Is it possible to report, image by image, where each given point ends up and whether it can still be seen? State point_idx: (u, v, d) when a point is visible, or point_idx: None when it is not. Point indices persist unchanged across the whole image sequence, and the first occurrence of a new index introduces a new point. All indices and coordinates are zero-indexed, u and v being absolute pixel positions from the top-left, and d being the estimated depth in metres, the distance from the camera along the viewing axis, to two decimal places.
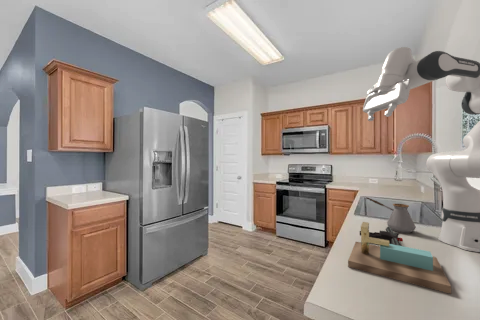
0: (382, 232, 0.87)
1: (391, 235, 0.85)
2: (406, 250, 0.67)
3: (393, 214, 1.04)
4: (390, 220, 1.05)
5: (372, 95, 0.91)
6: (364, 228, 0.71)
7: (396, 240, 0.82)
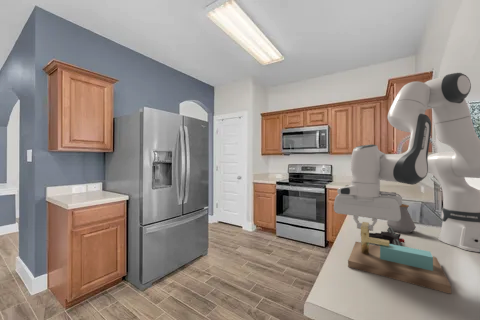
0: (383, 233, 0.86)
1: (393, 236, 0.84)
2: (406, 250, 0.67)
3: None
4: None
5: (348, 198, 0.75)
6: (364, 228, 0.71)
7: (398, 241, 0.81)
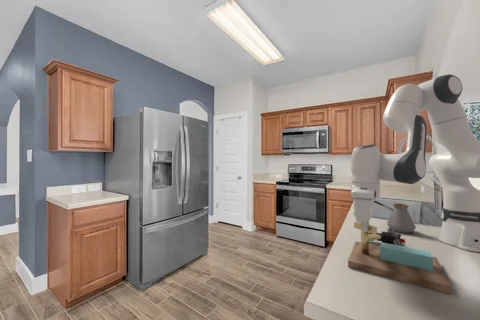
0: (384, 233, 0.86)
1: (393, 236, 0.84)
2: (406, 250, 0.67)
3: (393, 214, 1.04)
4: (390, 220, 1.05)
5: (372, 201, 0.69)
6: (375, 228, 0.71)
7: (398, 241, 0.81)
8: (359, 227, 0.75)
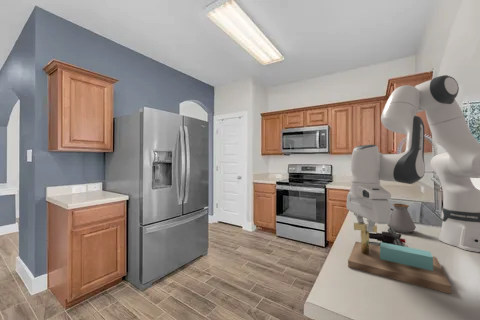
0: (384, 233, 0.86)
1: (393, 236, 0.84)
2: (406, 250, 0.67)
3: (393, 214, 1.04)
4: (390, 220, 1.05)
5: None
6: (376, 227, 0.72)
7: (399, 241, 0.81)
8: (360, 228, 0.74)
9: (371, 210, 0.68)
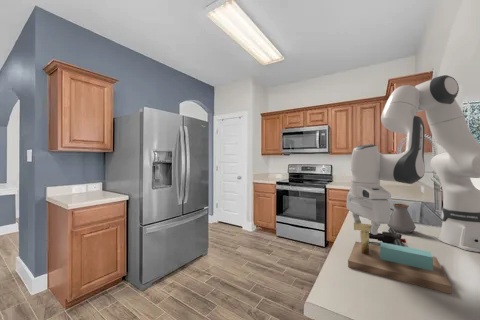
0: (385, 233, 0.86)
1: (394, 236, 0.84)
2: (406, 250, 0.67)
3: (393, 214, 1.04)
4: (390, 220, 1.05)
5: None
6: None
7: (399, 241, 0.81)
8: (360, 228, 0.74)
9: (371, 210, 0.68)
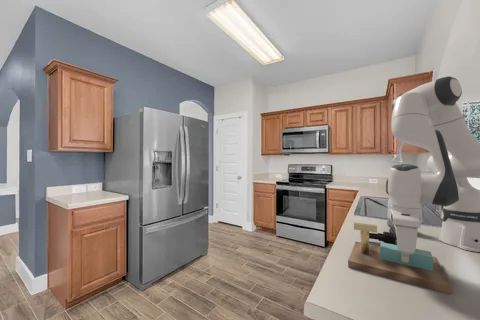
0: (386, 233, 0.86)
1: (395, 236, 0.84)
2: None
3: None
4: (390, 220, 1.05)
5: None
6: None
7: None
8: (360, 228, 0.74)
9: None
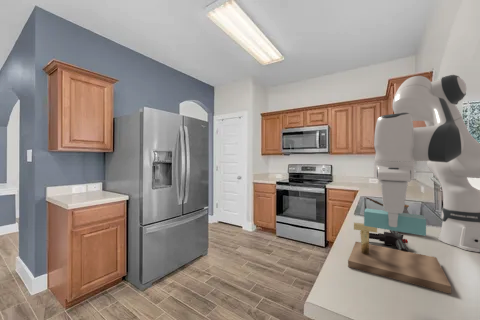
0: (386, 233, 0.86)
1: (396, 236, 0.84)
2: None
3: None
4: None
5: None
6: None
7: (401, 242, 0.80)
8: (360, 228, 0.74)
9: None
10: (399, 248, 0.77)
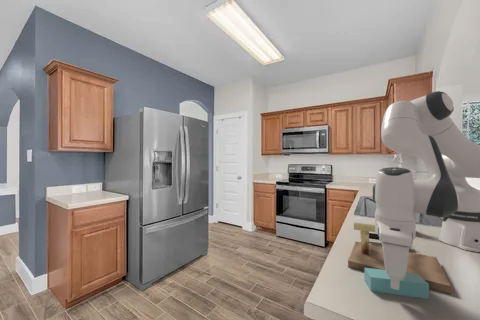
0: None
1: None
2: None
3: None
4: None
5: None
6: None
7: None
8: (360, 228, 0.74)
9: None
10: None
